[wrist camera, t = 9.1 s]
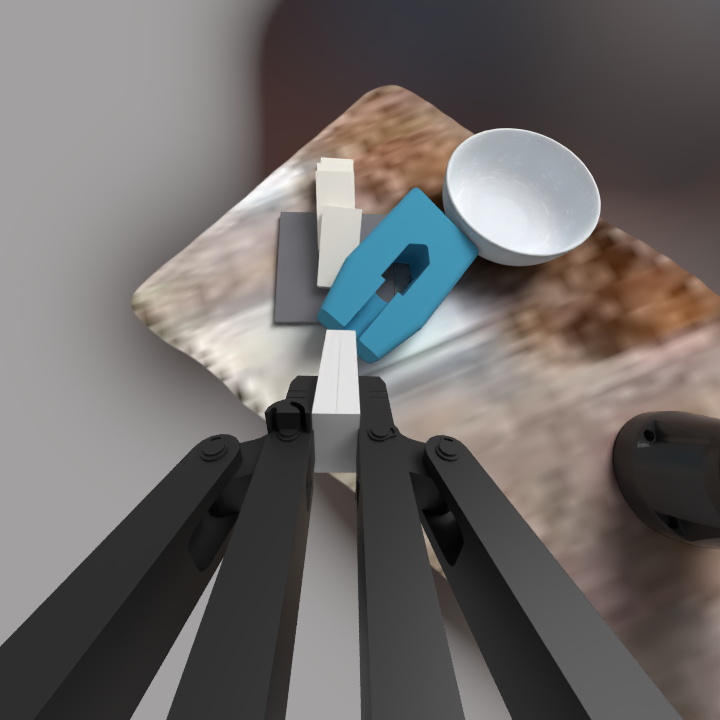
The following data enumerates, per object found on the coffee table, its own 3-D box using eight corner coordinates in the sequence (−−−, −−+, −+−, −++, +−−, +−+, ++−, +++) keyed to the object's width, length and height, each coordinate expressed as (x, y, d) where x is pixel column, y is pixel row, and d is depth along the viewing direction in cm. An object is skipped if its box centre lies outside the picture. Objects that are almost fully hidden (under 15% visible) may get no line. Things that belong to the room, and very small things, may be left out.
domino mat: (395, 323, 37) (396, 321, 36) (275, 323, 36) (274, 321, 35) (389, 218, 41) (390, 214, 40) (281, 216, 40) (280, 211, 39)
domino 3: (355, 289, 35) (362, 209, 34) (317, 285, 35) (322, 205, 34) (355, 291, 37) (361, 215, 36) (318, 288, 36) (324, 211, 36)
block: (377, 372, 34) (458, 269, 40) (392, 369, 30) (481, 252, 35) (305, 309, 33) (398, 210, 38) (308, 295, 28) (414, 184, 33)
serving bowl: (562, 187, 45) (601, 145, 38) (557, 299, 39) (601, 272, 33) (440, 157, 45) (458, 110, 38) (419, 265, 39) (435, 232, 33)
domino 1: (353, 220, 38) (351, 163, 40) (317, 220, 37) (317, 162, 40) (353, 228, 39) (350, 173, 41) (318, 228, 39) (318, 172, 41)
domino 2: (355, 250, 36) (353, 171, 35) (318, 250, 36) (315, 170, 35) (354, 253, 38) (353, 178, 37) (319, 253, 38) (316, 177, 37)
